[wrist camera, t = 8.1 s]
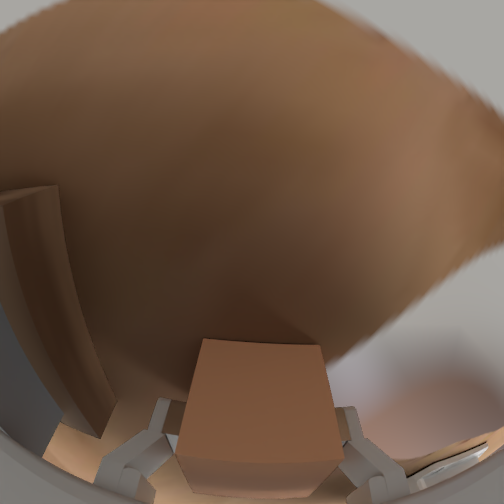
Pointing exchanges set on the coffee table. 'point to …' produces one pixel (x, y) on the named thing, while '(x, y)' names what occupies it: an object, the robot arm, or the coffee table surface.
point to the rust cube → (259, 421)
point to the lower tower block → (50, 307)
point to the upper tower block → (24, 396)
